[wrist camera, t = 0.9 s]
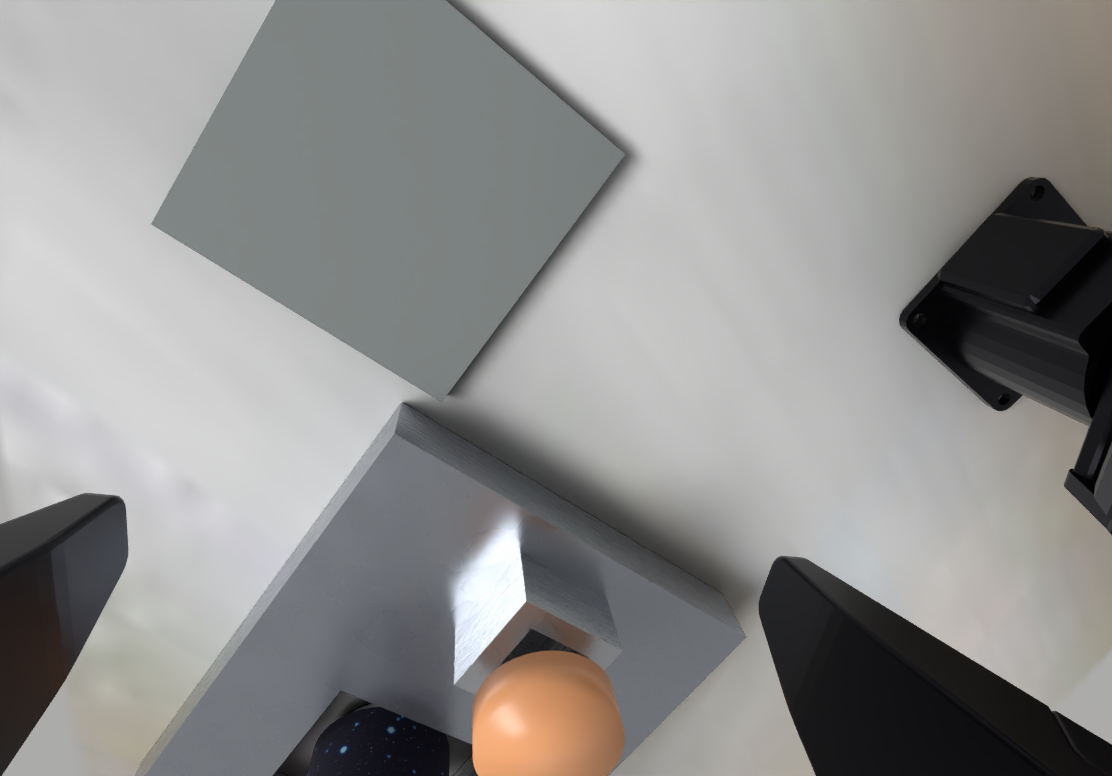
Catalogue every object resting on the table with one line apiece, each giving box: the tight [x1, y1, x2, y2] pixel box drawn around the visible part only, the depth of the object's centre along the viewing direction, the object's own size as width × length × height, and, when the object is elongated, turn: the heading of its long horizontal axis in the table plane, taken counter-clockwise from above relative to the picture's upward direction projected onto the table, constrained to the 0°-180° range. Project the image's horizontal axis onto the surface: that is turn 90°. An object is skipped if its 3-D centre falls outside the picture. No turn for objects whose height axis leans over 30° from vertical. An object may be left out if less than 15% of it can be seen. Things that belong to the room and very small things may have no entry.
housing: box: [135, 403, 746, 776], centre depth 25 cm, size 16×20×5 cm
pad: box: [151, 0, 625, 402], centre depth 19 cm, size 10×10×1 cm
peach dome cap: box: [472, 650, 625, 776], centre depth 19 cm, size 4×4×3 cm
